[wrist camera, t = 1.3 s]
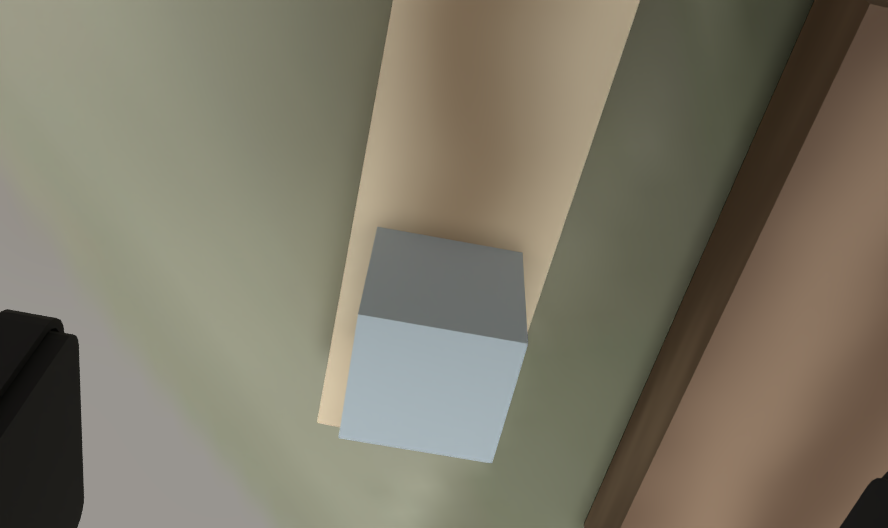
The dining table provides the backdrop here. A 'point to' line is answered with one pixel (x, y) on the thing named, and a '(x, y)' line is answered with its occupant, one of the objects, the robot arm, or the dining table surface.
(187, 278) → the dining table surface
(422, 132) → the beige rectangular bar
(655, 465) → the dock
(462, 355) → the block
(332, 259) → the dining table surface
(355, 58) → the dining table surface
